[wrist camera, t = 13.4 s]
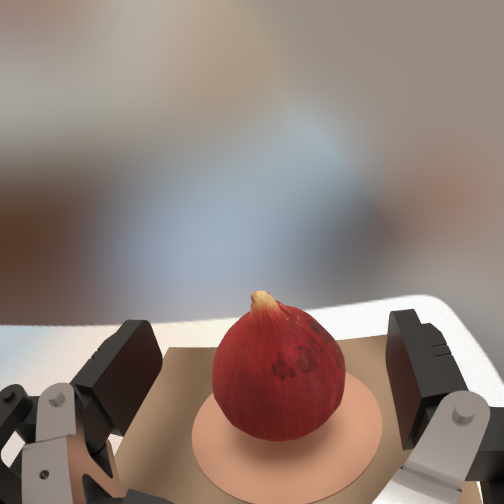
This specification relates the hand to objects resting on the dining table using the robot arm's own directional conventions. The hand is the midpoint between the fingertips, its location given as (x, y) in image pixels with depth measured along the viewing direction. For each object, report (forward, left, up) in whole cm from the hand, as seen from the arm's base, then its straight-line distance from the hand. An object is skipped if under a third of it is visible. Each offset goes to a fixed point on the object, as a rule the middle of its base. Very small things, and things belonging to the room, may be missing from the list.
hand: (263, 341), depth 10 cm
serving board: (-1, +2, -9) cm, 9 cm away
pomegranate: (-1, +2, -8) cm, 8 cm away
